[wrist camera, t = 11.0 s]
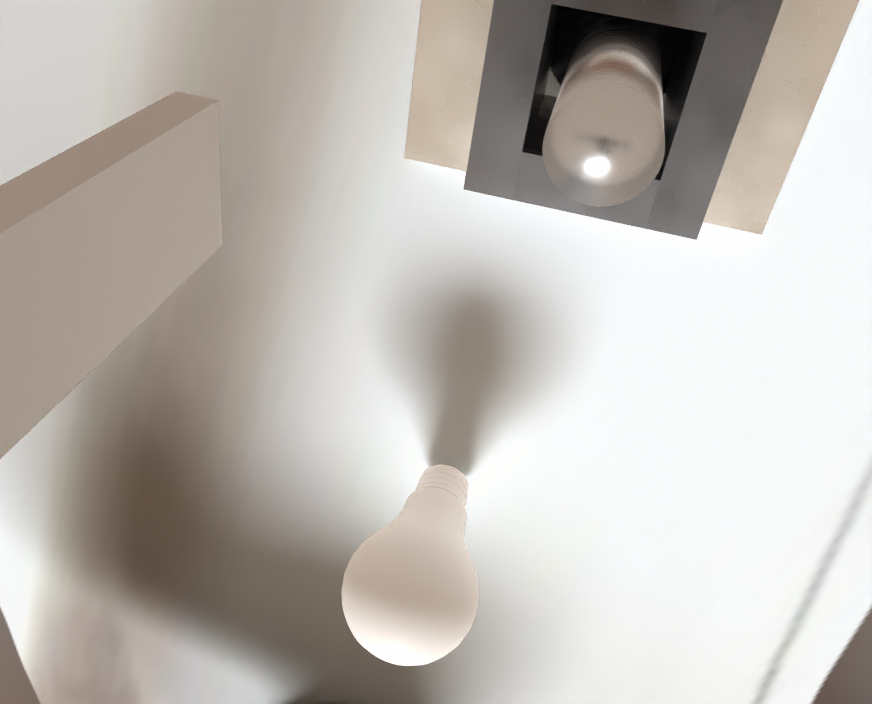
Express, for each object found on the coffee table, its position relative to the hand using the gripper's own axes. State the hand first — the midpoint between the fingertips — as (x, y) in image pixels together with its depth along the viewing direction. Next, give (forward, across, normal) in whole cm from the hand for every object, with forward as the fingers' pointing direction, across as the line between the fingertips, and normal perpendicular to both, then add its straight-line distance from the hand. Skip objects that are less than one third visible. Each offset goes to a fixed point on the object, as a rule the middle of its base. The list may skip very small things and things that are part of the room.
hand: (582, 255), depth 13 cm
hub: (+16, 0, 0) cm, 16 cm away
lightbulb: (+18, +3, +23) cm, 29 cm away
